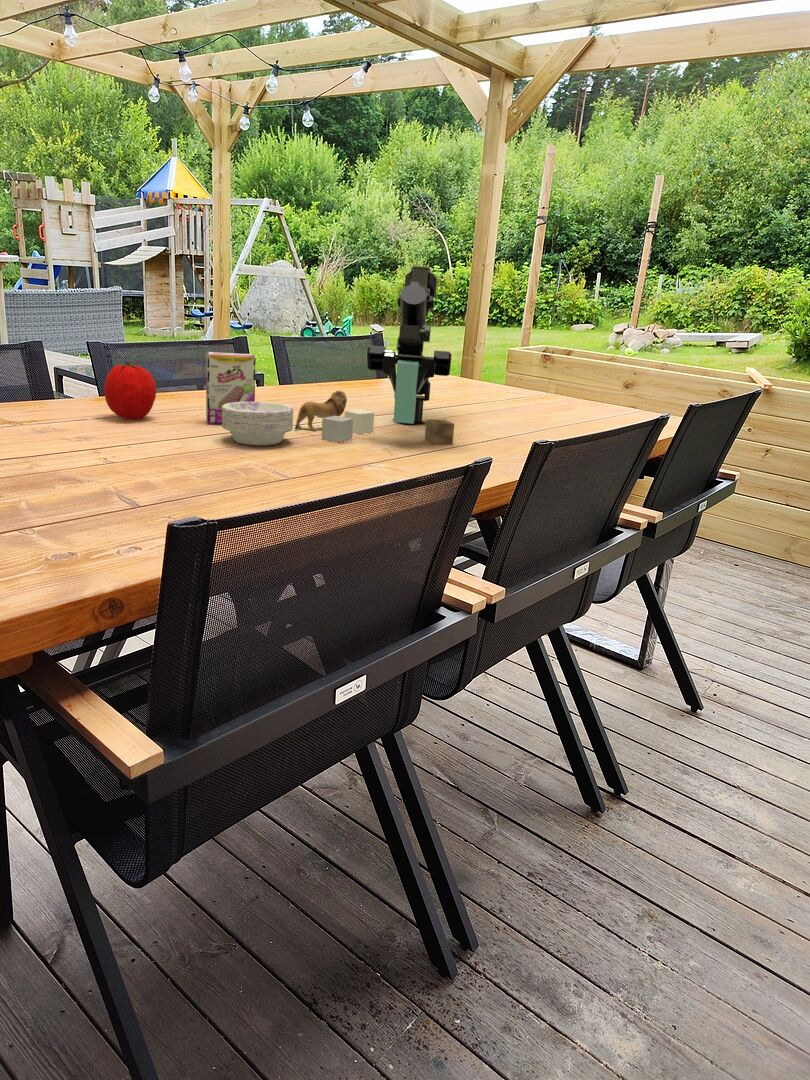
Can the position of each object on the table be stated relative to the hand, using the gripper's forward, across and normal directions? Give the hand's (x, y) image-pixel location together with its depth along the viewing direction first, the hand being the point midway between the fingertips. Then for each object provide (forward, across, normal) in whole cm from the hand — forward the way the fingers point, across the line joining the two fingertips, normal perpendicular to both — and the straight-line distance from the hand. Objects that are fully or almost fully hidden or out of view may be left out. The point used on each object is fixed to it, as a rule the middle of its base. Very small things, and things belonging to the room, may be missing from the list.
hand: (405, 391), depth 169 cm
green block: (+4, 0, +6) cm, 7 cm away
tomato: (+4, -64, +14) cm, 66 cm away
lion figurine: (0, -21, +19) cm, 28 cm away
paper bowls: (+13, -32, +5) cm, 35 cm away
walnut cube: (+3, +8, +15) cm, 18 cm away
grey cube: (+7, -15, +11) cm, 20 cm away
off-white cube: (0, -11, +19) cm, 22 cm away
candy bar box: (+1, -42, +17) cm, 45 cm away
